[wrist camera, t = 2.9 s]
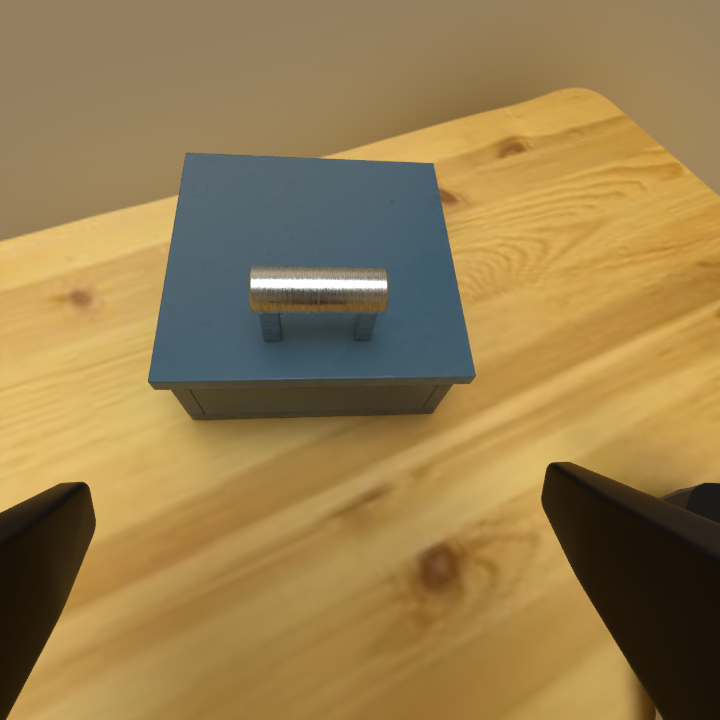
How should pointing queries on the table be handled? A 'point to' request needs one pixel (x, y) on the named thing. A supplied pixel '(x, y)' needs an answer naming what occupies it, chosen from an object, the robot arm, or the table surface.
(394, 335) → the blue-grey box lid
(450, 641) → the table surface
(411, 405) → the compartment
